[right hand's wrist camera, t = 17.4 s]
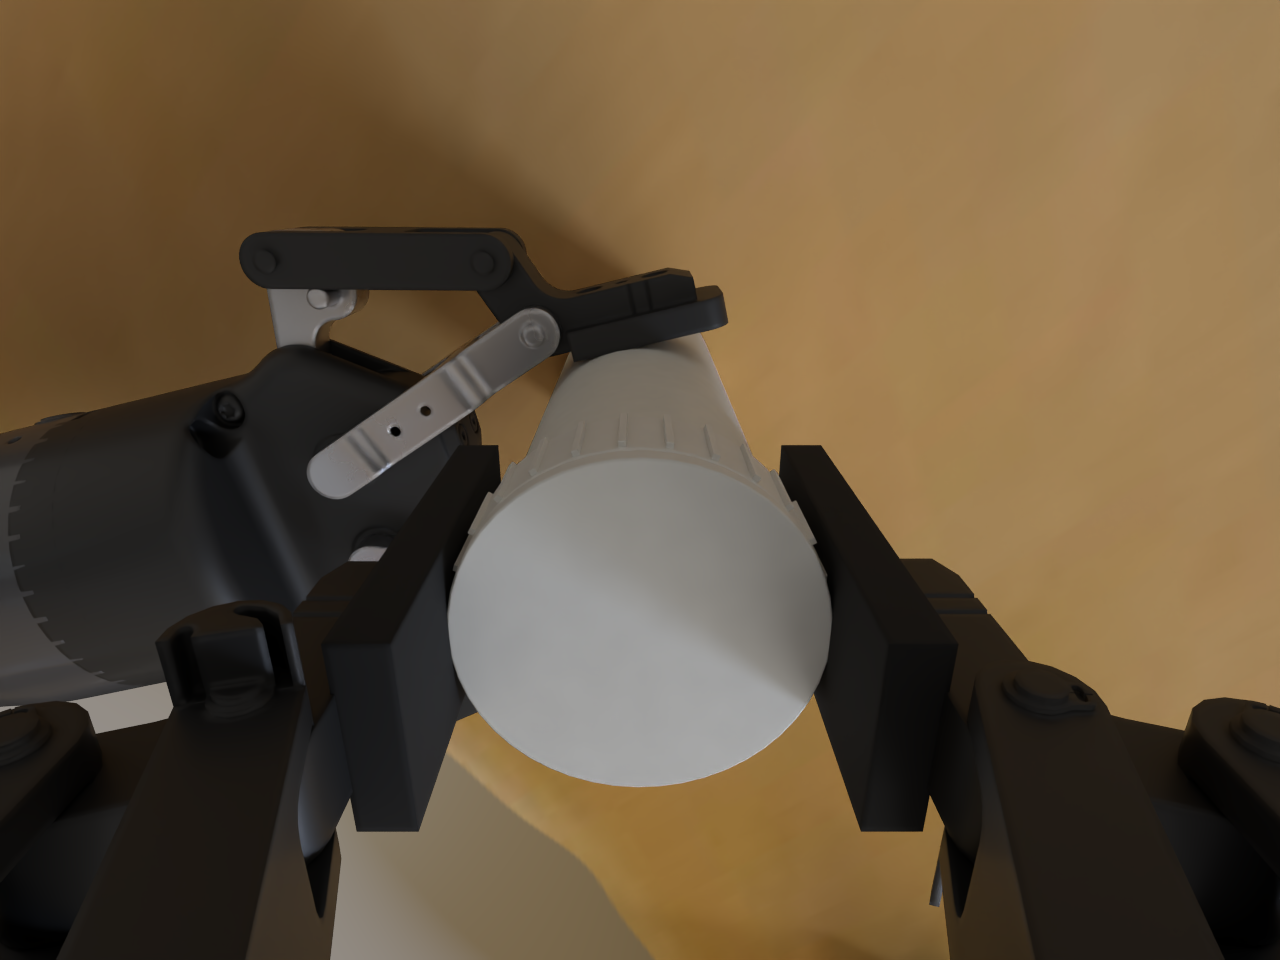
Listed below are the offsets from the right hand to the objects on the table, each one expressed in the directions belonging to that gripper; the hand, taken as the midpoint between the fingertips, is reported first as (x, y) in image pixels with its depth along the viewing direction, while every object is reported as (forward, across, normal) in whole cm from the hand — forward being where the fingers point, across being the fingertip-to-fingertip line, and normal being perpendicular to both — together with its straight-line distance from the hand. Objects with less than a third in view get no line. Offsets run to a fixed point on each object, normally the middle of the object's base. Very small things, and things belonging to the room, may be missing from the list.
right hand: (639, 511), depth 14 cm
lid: (-4, 0, 0) cm, 4 cm away
